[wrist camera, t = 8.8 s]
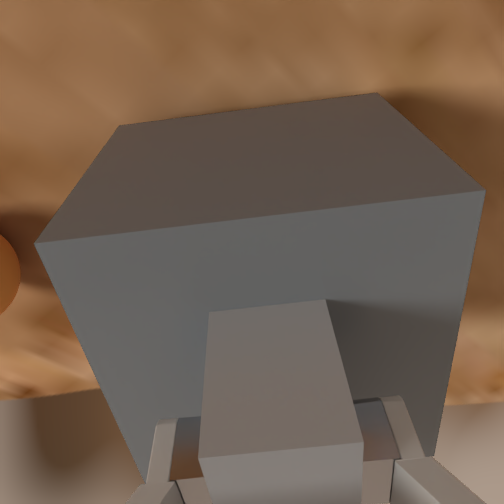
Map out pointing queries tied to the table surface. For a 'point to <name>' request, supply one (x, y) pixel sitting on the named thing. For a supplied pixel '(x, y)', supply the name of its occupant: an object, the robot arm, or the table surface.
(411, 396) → the stepped grey block
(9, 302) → the ball
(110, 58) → the table surface
